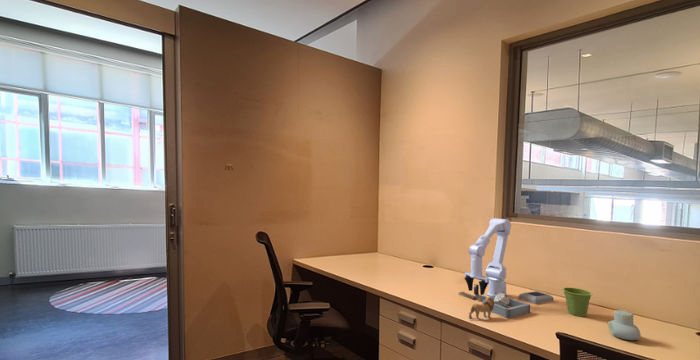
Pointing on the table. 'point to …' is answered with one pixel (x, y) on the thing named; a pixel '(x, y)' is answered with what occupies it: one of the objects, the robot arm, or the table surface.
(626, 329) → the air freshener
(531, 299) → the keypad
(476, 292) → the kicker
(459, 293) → the rail
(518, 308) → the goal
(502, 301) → the grey rock
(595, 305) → the table surface
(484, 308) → the lion figurine
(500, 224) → the robot arm
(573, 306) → the plant pot
